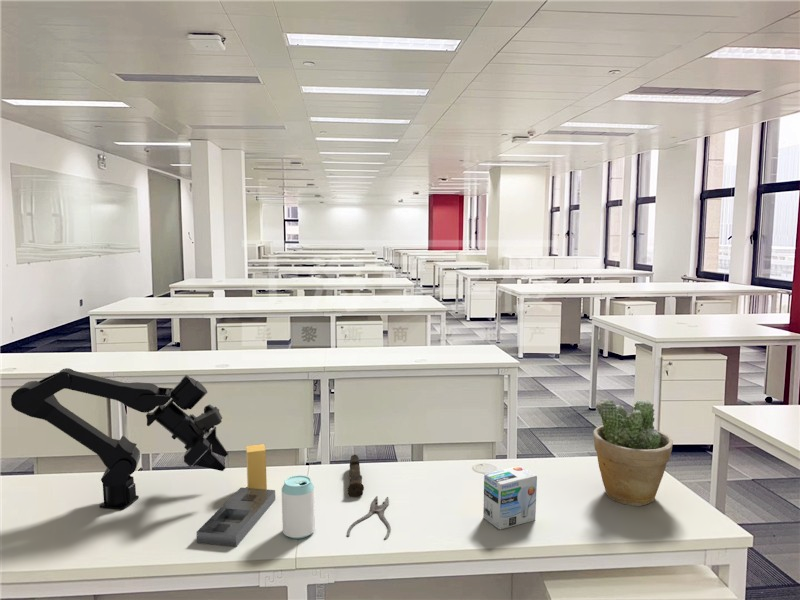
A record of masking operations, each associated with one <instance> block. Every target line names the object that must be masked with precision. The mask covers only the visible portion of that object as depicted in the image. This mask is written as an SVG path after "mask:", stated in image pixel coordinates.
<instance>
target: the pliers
mask: <svg viewBox="0 0 800 600" xmlns="http://www.w3.org/2000/svg"><path fill="white" fill-rule="evenodd" d="M378 499H379V498H378V495H376V496H375V497H374V499H373V500H372V501H371V504H370V508H369V510H368V512H367V514H365V515H364V516H362V517H360V518H358V519H357V520H355V521H354V522H352V524H351V525H349V527H348V529H347V531H346V537H347V538H349V537H350V535H351V531H352V530H353V528H354V527H356V525H358V524H360V523H362V522H363V521H365V520H367V519H369V518H371V517H372V516H373V515H375V514H378V517H379V519H380V520H381V521H382V522H383V524H384V525H385V526H386V529H387V531H386V535H385V537H384V538H383V540H384V541H385V540H386V541H387V540H388V538H389V537H390V535H391V531H392V529H391V524H390V522H389V521H388V520H387V518H386V516H385V511H386V509H387V508H388V507H389V505H390V501H389V496H387V497H385V499H384V501H382V504H380V505H379V503H378V501H379V500H378Z"/></svg>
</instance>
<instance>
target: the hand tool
mask: <svg viewBox="0 0 800 600" xmlns="http://www.w3.org/2000/svg"><path fill="white" fill-rule="evenodd" d="M349 459H350V460H349V480H348V481H349V484H348V486H347V495H348V497H349V498H359V497H362V496H363V493H364V492H363V491H364V489H365V487H364V485H363V476H362V475H361V469H360V468H361V467H360V458H359V456H358V455H357V454H352V455H351V456H350V458H349Z"/></svg>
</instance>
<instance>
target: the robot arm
mask: <svg viewBox="0 0 800 600" xmlns="http://www.w3.org/2000/svg"><path fill="white" fill-rule="evenodd" d="M63 390H72V391H75V392H79V393H82V394H83V393H84V394H88V395H92V396H97V397H102V398H105V399H110V400H114V401H117V402H120V403H121V404H123V405H124V406H126V407H128V408H130V409H133V410H135V411H138V412H141V413H145V414H146V415H145V417H146V426H147V427H150V426H151V425H152V424H153V423H154V422H155V421H156V422H157V423H158V424H159V425H160V426H162V428H164V429H165V430H167V432H169V433H170V434H171V438H172V439H173V440H176V439H177V440H179V442H180V443H182V444H183V445H184V449H185V452H184V456H183V463H185V464H186V465H187V466H189V467H192V466H193V467H202V468H207V469H211V470H216V471H220V472H224V471H225V470H226V466H225V465H224V464H223V462H222V461H221V460H220V459H219V458H218V457H217V456H216V455H219V456H222V457H223V458H226V457H227V456H228V455H229V453H228V452H227V450H226V448H225V447H224V445H223V444H222V442H221V441H220V440H219V437H218V436H217V427H216V426H219V424H221V423H222V419H223V416H222V414H221V413H220V408H218V407H217V406H213V405H212V404H208V405H206V406H204V408H203V412H202V413H201V414H200V415H198V416H196V415H194V414H187V413H186V412H185V411H187V410H193V409H194V407H195V406H196V405H197V404H198V403H199V402H200V401H201V400H202V399H203V398H204V397H205V396H206V395H207V394H208V390H207V388H206V387H205V386H204V385H203V384H202V383H201V382H200V381H198V380H196V379H195V378H193V377H190V376H189V375H187V374H186V375H184V376H183V377H182V378H181V380H180V381H179V382H178V384H176V385H175V386H174V388H173V387H162V386H161V387H160V386H158V385H156V384H155V383H152V382H151V383H150V382H137V381H135V382H123V381H118V380H113V379H110V378H106V377H103V376H97V375H94V374H89V373H84V372H81V371H76V370H73V369H72V368H62V369H61V370H59V371H58V372H56V373H54V374H52V375H49V376H47V377H45V378H43V379H41V380H39V381H38V380H32V381H27V382H25V383H24V384H22V385H21V386H20V387H19V388H18V389H16V390H14V392H13V393H12V394H11V398H10V404H11V406H12V408H13V409H14V410H15V411H16V412H19V413H21V414H22V415H26V416H28V417H30V418H34V419H39V420H43V421H45V422H48V423H49V424H51V426H53V427H54V428H56V429H58V430H60V431H62V433H64V434H66V435H68V437H70V438H72V439H73V440H75V441H76V442H78V443H80V444H81V445H83V447H85V448H87V449H89V450H90V451H92V453H94V454H95V455H97V456H98V457H99V459H100V460H101V461H102V463H103V465H104V466H105V468H106V469H105V471H104V473H103V475H102V477H100V478H101V479H100V481H101V482H102V483H101V484H102V494H103V495H102V496H103V502H102V503H101V504H99V508H101V509H102V508H103V509H113V510H114V509H115V510H124V509H126V508H127V507H128V506H130V505H131V504H132V503H134V502H136V501H137V500H138V499H139V496H140V495H137V493H136V492H137V491H136V483H135V480H134V476H132V474H134V473H135V472H136V469H137V467H138V464H139V462H140V459H141V452H140V449H139V448H138V447H137V443H135V442H133V441H132V442H131V441H130V440H129V439H128V438H127V437H126V436H125V435H122V436H121V437H120V438H119V439H116V438H112V437H110V436H108V435H106V433H104V432H102V431H101V430H99V429H98V428H97V427H95V426H93V425H92V424H90V423H89V422H87V421H86V420H85V419H83V418H81V417H80V416H79V415H77V414H75V413H74V412H72V411H71V410H70V409H68V408H67V407H65V406H64V405H63V404H61V403H60V402H59V401H58V399H57V397H56V396H55V394H57V393H58V392H60V391H63ZM184 410H185V411H184ZM215 454H216V455H215Z"/></svg>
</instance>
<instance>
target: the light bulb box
mask: <svg viewBox="0 0 800 600" xmlns="http://www.w3.org/2000/svg"><path fill="white" fill-rule="evenodd" d="M483 475H484V477H483V515H482V517H483V518H484V519H485V520H486V521H487V522H489V523H490V524H491V525H493V526H494V527H496V528H497V529H498V530H505V529H507V528H511V527H514V526H515V527H516V526H519V525H522V524H525V523H529V522H532V521H533V522H534V521H536V513H537V512H536V511H537V508H536V507H537V487H538V486H537V484H538V476H537V475H536V474H534V473H533V472H531V471H530V470H527V469H526V468H523V467H522V466H520V465H517V466H516V465H515V466H514V467H508V468H504V469H501V470H500V469H499V470H496V471H491V472H487V473H484V474H483Z"/></svg>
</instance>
